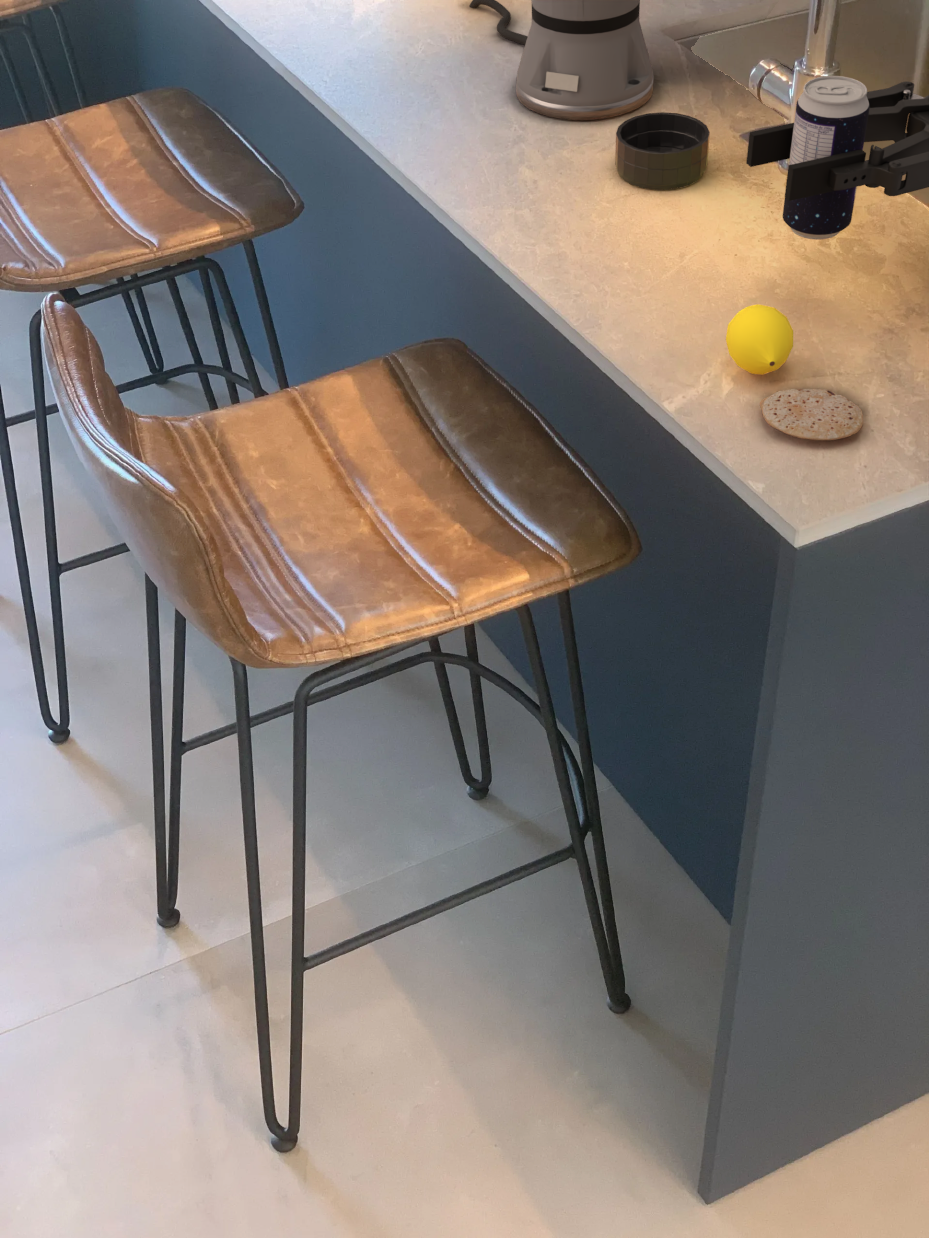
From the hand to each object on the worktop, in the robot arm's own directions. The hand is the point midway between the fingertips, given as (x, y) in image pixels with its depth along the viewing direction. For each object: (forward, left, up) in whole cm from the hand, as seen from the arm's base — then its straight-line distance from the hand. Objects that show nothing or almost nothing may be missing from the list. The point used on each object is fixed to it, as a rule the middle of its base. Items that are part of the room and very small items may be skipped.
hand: (769, 166), depth 113 cm
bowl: (-28, -3, -14) cm, 32 cm away
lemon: (+8, -2, -14) cm, 16 cm away
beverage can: (-1, +5, -7) cm, 9 cm away
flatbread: (+16, +1, -14) cm, 21 cm away
